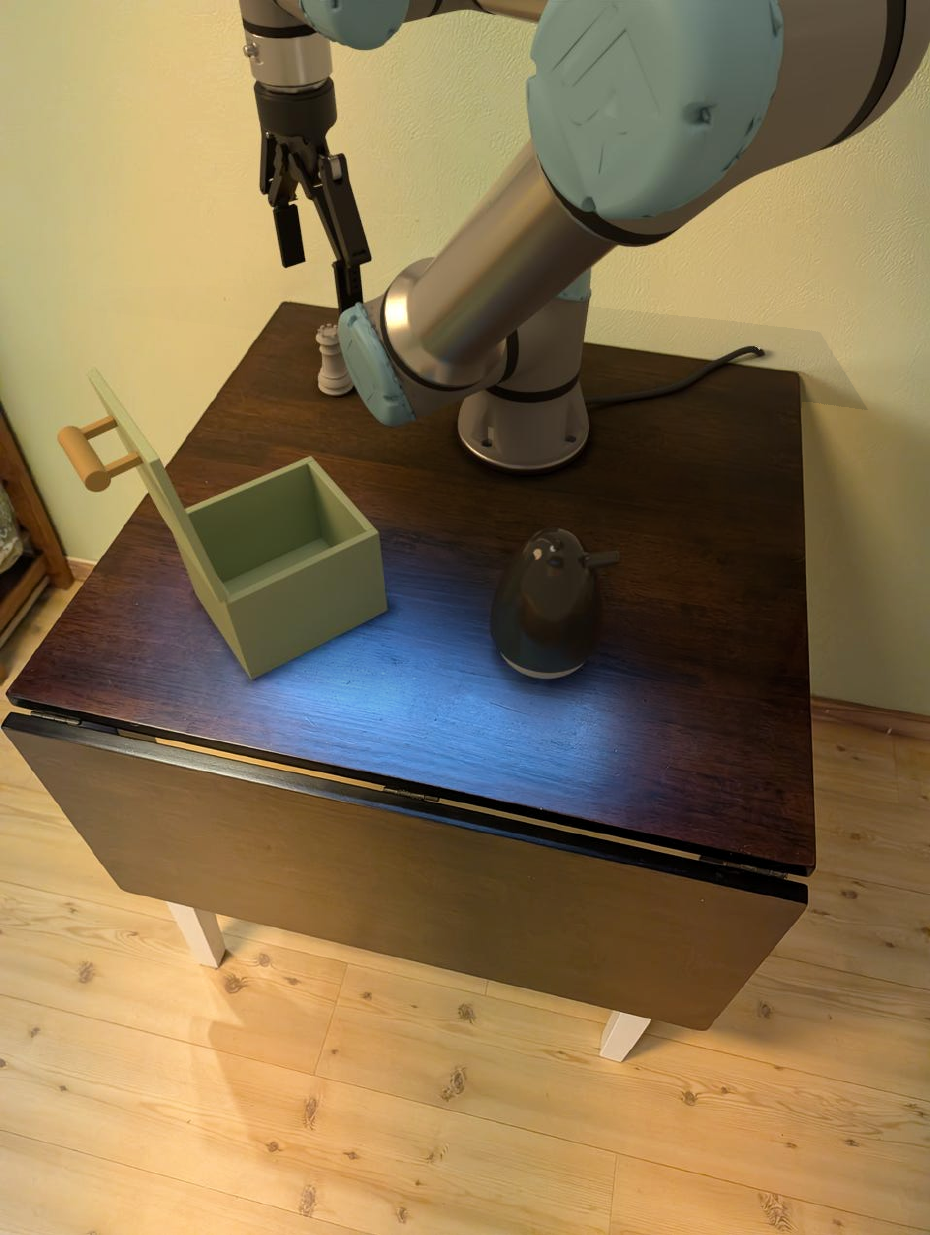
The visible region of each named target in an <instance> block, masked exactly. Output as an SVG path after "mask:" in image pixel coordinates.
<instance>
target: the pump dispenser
mask: <svg viewBox="0 0 930 1235" xmlns="http://www.w3.org/2000/svg"><path fill="white" fill-rule="evenodd" d="M621 560H622V559H621V553H620V552H619V551H618V550H612V551H593V552H592V551H591V552H590V550H589V549H588V547H587V546H586V544H585V542H584V541H583V540H581V538H580V537H579V536H578V535H577V534H575V533H574V532H572V531H571V530H569V529H567V528H564V527H557V526H550V527H544V528H541V529H539V530H537V531H536V532H534V533H532V534H531V535H530V536H529V537H527V538H526V539H525V540H524V541H523V542H522V543H521V545H519V547H518V548H517V549H516V551H515V552H514V554H513V555H512V557H511V558H510V560H509V561H508V563H507V564H506V566H505V567H504V569H503V572H502V574H501V576H500V579H499V581H498V583H497V586H496V590H495V593H494V596H493V601H492V605H491V608H490V615H489V631H490V636H491V639H492V642H493V644H494V646H495V647H496V649H497V650H498V651H499V654H500V655H501V656H502V658H503V659H504V660H505V661H506V663H507V664H508V665H510V666H511V668H513V669H515V671H517V672H519V673H521V674H523V675H525V676H526V677H527V676H528V677H531V678H534V679H541V680H553V679H557V678H562V677H566V676H568V675H570V674H572V673H573V672H575V671H577V670H578V669H580V668H581V667H582V666H583V665H584V664H586V662H587V661H588V660H590V659H591V658H592V657H593V656H594V654H595V653H596V652H597V650H598V649H599V646H600V644H601V641H602V638H603V633H604V626H605V625H604V624H605V603H604V594H603V587H602V582H601V578H600V575H599V572H598V569H602V568H606V567H610V566H614V565H615V566H616V565H619V564H620V562H621Z"/></svg>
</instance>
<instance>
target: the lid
mask: <svg viewBox="0 0 930 1235" xmlns="http://www.w3.org/2000/svg"><path fill="white" fill-rule="evenodd" d="M85 375H86V376H87V378H88V380H89V382H90V384H91V386H92V387H93V389H94V391H95V393H96V395H97V397H98V400H99V401H100V403H101V404H102V406H103V408H104V410H105V412H106V414H107V416H105V417H103V418H100V419H99V420H96V421H95V422H92V423H90V424H88V425H86V426H83V427H81V428H79V427H78V426H75V425H67V426H64V427H62V428H60V430H58V433H57V437H56V440H57V443H58V444H59V445H60V447H61V449H62V450H63V452H64V454H65V455H66V457H67V460H68V461H69V462H70V464H71V465H72V467H73V469H74V470H75V472H76V474H77V475H78V477H79V479H80V480H81V482H82V484H83V485H84V487H85V488H86V490H88V491H90V492H93V493H101V492H104V491H106V490H107V489H108V488H109V487H110V485H111V483H112V479H113V478H115V477H117V476H120V475H122V474H124V473H126V472H128V471H130V470H132V469H134V468H135V469H136V471H137V473H138V475H139V476H140V478H141V480H142V482H143V484H144V486H145V488H146V490H147V492H148V493H149V495H150V497H151V499H152V502H153V503H154V505H155V507H156V508H157V510H158V512H159V514H160V516H161V518H162V520H164V522H165V523H166V526H167V527H168V528H169V530H170V531H171V533H172V532H173V533H172V535H173V534H174V535H175V537H176V538H177V540H178V541H179V543H180V544H181V546H182V547H183V549H184V550H185V552H186V554H187V555H188V557H189V558H190V560H191V561H192V563H193V564H194V566H195V567H196V569H197V570H198V572H199V573H200V575H201V576H202V578H203V579H204V581H205V582H206V584H207V585H208V587H209V588H210V590H211V591H212V593H213V594H214V596H215V597H216V599H217V600H218V602H219V603H222V602H224V601H226V600H227V599H228V597H227V594H226V592H225V590H224V588H223V586H222V584H221V582H220V580H219V578H218V576H217V574H216V572H215V570H214V568H213V566H212V564H211V562H210V560H209V558H208V556H207V554H206V552H205V550H204V548H203V546H202V544H201V541H200V539H199V537H198V535H197V533H196V531H195V529H194V527H193V525H192V523H191V521H190V519H189V517H188V515H187V513H186V511H185V509H186V508H185V507H184V505H183V502H182V501H181V498H180V496H179V495H178V492H177V491H176V488H175V486H174V485H173V483H172V481H171V480H172V479H171V478H170V477H169V475H168V472H167V470H166V468H165V466H164V464H163V462H162V460H161V458H160V456H159V455H158V453H157V452H156V451H155V449H154V448H153V446H152V445H151V444H150V443H149V441H148V440H147V438H146V437H145V435H144V434H143V432H142V431H141V429H140V428H139V427H138V425H137V424H136V423H135V421H134V420H133V418H132V416H131V415H130V414H129V412H128V411H127V410H126V408H125V407H124V405H123V403H121V401H120V400H119V398H118V397H117V396H116V395H115V393H114V391H113V390H112V388H111V387H110V386H109V384H108V383H107V381H106V380H105V379H104V377H103V376H102V374H101V373H100V371H99V370H98V369H97V367H95V366H94V367H90V368H89V369H87V370H85ZM114 429H115V431H116V434H117V435H118V437H119V438H120V440H121V442H122V445H123V446H124V448H125V450H126V452H127V455H124V456H122V457H121V458H118V459H116V460H114V461H112V462H110V463H108V464H105V465H104V464H103V462H102V459H100V457H99V455H98V454H97V452H96V451H95V449H94V448H93V446H92V444H91V443H90V441H89V440H91V439H93V438H96V437H98V436H100V435H102V434H104V433H106V432H109V431H111V430H114ZM174 535H173V536H174Z"/></svg>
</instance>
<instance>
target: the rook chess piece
mask: <svg viewBox="0 0 930 1235" xmlns="http://www.w3.org/2000/svg"><path fill="white" fill-rule="evenodd" d="M332 326H333V327H332ZM315 340H316V342H317V343H318V344H319V345H320V346H319V348H318V350H319V352H320V353H321V368H320V370H319V372H318V375H317V381H318V383H317V384H318V385H317V387H318V388H319V390H320V391H321V393H323V394H325V395H326V396H329V397H341V396H344V395H346V394H348V393H349V392H350V391H351V390H352V389H353V387H355V385H354V383H353V381H352V379H351V376H350V374H349V372H348V369H347V366H346V364H345V361H344V358H343V354H342V350H341V347H340V342H339V336H338V324H334V325H332V323H326V327H325V325H324V324H322V325H320V326H319V328H317V334H316V335H315Z"/></svg>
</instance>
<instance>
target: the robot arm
mask: <svg viewBox="0 0 930 1235" xmlns="http://www.w3.org/2000/svg"><path fill="white" fill-rule="evenodd" d="M238 4H239V11H240V14H241V20H242V27H243V30H244V31H243V32H244V38H245V43H246V44H244V45H243V47H242V51H243V55H244V57H246V58H248V60H249V67H250V72H251V75H252V77H253V79H255V82H254V84H253V93H254V98H255V99H254V100H255V104H256V110H257V116H258V117H257V118H258V121H259V127H260V135H261V137H260V138H261V139H260V143H261V144H260V160H259V161H260V162H259V184H258V185H259V186H258V187H259V191H260V193H261V195H263V196H266V195H267V202H268V205H269V206H270V207H271V208H273V209H272V215H273V220H274V227H275V233H276V238H277V244H278V249H279V255H280V262H281V266H282V267H283V269H288V268H291V267H295V266H297V265H300V264H303V263H306V262H307V260H306V255H305V247H304V241H303V234H302V228H301V227H302V226H301V221H300V213H299V207H298V205H297V204H296V203H292V202H295V201H298V200H299V198H298V196H297V194H296V191H297V188H298V185H299V184H300V186H301V188H302V190H303V193H304V195H305V197H306V199H308V200H309V201H312V203H313V205H314V207H315V208H314V209H315V210H316V212H317V215H318V217H319V220H320V222H321V225H322V227H323V230H324V232H325V235H326V237H327V240H328V242H329V245H330V247H331V250H332V252H333V254H334V258H335V259H336V260H335V261H332V263H331V267H332V269H333V276H334V285H335V293H336V300H337V308H338V316H339V318H338V321H337V326H338V336H339V342H340V347H341V350H342V355H343V359H344V362H345V365H346V366H347V369H348V372H349V374H350V376H351V379H352V381H353V383H354V387H355V389H356V391H357V393H358V396H359V397H360V399H361V400H362V402H363V403H364V405H365V406H366V408H367V410H368V411H369V412H370V413H371V415H373V417H374V418H375V419H376V420H377V421H378V422H379V423H381V424H382V425H384V426H385V427H389V428H397V427H400V426H403V425H405V424H408V423H411V424H412V423H413V424H414V423H416V422H417V420H418V419H421V418H423V417H426V416H428V415H430V414H433V413H435V412H437V411H439V410H441V409H444V408H445V407H448V406H450V405H453V404H455V403H457V402H459V401H462V400H463V402H462V404H461V406H460V409H459V414H458V419H457V436H458V442H459V444H460V446H461V448H462V449H463V450H464V452H465V453H466V454H467V455H468V456H469V457H470V458H471V459H472V460H474V461H475V462H476V463H478V464H479V465H481V466H483V467H485V468H486V469H490V470H492V471H495V472H498V473H502V474H506V475H512V476H538V475H545V474H549V473H552V472H555V471H559V470H561V469H563V468H565V467H567V466H569V465H570V464H571V463H573V462H574V461H576V460H577V459H578V458H579V457H580V456H581V455H582V453H583V452H584V450H585V448H586V446H587V442H588V438H589V432H590V431H589V430H590V422H589V414H588V411H587V405H597V404H598V405H599V404H613V403H620V402H628V401H636V400H642V399H647V398H653V397H658V396H662V395H665V394H669V393H672V392H675V391H678V390H681V389H683V388H685V387H688V386H690V385H691V384H693V383H694V382H696V381H697V380H699V379H700V378H701V377H703V376H704V375H706V374H707V373H709V372H710V371H712V370H714V369H716V368H719V367H720V366H722V365H725V364H727V363H729V362H731V361H733V360H735V359H737V358H740V357H741V356H744V355H747V354H755V355H757V356H758V357H764V356H766V352H765V351H764V349H762V348H761V349H760V350H759V349H758V348H757V347H758V346H757V347H755V346H756V345H748V346H743V347H740V348H738V349H736V350H733V351H731V352H729V353H728V354H725V355H723V356H721V357H719V358H717V359H714V360H711V361H710V362H708V363H706V364H705V365H703V366H701V367H700V368H699V369H698V370H696V371H695V372H692V374H690V375H688V376H687V377H685V378H683V379H681V380H679V381H676V382H674V383H670V384H667V385H664V386H661V387H656V388H652V389H648V390H647V389H646V390H640V391H634V392H633V391H632V392H626V393H619V394H612V395H595V396H585V397H584V395H583V391H582V387H581V382H580V373H581V364H582V358H583V351H584V343H585V337H586V328H587V322H588V314H589V306H590V300H591V297H592V288H591V281H592V280H591V279H592V268H593V267H594V266H595V265H597V263H599V262H600V261H601V260H603V259H604V257H606V256H607V255H608V254H610V253H611V252H612V251H614V249H615V248H617V247H618V246H621V247H625V248H641V247H648V246H651V245H655V244H658V243H659V242H662V241H663V240H666V239H667V238H669V237H670V236H672V235H673V234H674V233H676V232H677V231H679V230H680V229H681V228H682V227H684V226H685V225H686V224H687V223H689V222H690V221H692V220H693V219H695V218H696V217H697V216H698V215H700V214H701V213H702V212H704V211H705V210H707V209H708V208H709V207H711V206H712V205H713V204H714V203H716V202H717V201H719V199H721V198H722V197H723V196H725V195H727V193H729V192H730V191H731V190H733V189H735V188H737V187H738V186H740V185H741V184H743V183H745V182H747V181H749V180H750V179H752V178H754V177H756V176H758V175H760V174H762V173H765V172H768V171H771V170H773V169H776V168H778V167H781V166H784V165H785V164H789V163H792V162H795V161H797V160H800V159H802V158H805V157H808V156H810V155H812V154H815V153H818V152H820V151H824V150H826V149H829V148H832V147H835V146H838V145H840V144H842V143H843V142H845V141H848V140H849V139H850V138H852V137H854V136H856V135H857V134H859V133H862V132H863V131H864V130H865V129H867V128H869V126H871V125H872V124H874V123H875V122H876V121H877V120H879V119H880V118H881V117H882V116H883V115H884V114H885V113H886V112H887V111H888V110H889V109H890V108H891V107H892V106H893V105H894V104H895V103H896V101H897V100H899V98H900V97H901V95H902V94H903V93H904V92H905V90H906V89H907V87H908V86H909V85H910V84H911V82H912V80H913V78H914V77H915V75H916V73H917V71H918V70H919V69H920V67H921V64H922V63H923V60H924V58H925V56H926V53H927V51H928V49H929V47H930V0H238ZM458 11H459V12H460V11H473V12H479V13H482V14H483V13H484V14H488V15H492V16H499V17H504V18H508V19H512V20H516V21H521V22H526V23H529V24H530V23H531V24H534V25H537V26H536V29H535V32H534V36H533V38H532V43H531V47H530V53H529V58H530V60H532V61H533V62H534V65H535V68H536V69H535V74H533V75H532V76H529V77H527V79H526V82H525V87H526V88H525V96H526V97H525V98H526V100H525V101H526V102H525V103H526V113H527V120H528V128H529V135H530V138H529V139H528V140H527V142H526V143H525V144H524V145H523V146H522V148H520V149H519V150H520V151H519V152H518V153H517V154H516V155H515V156H514V158H512V160H511V162H510V163H509V164H508V165H507V167H505V169H504V170H503V171H502V172H501V174H500V175H499V176H498V178H497V179H496V180H495V182H494V183H493V184H492V185H491V186H490V188H489V189H488V190H487V192H486V193H485V194H484V195H483V196H482V198H481V199H480V200H479V201H478V203H476V205H475V206H474V208H473V209H472V210H471V212H470V213H469V214H468V215H467V217H465V219H464V220H463V222H461V224H460V225H459V227H458V228H457V229H456V230H455V231H454V232H453V234H452V235H451V236H450V238H449V239H448V240H447V241H446V243H444V245H443V246H442V247H441V249H440V250H439V251H438V253H437V254H436V255H435V256H430V257H429V256H428V257H425V258H420V259H419V260H416V261H414V262H412V263H411V264H409V265H407V266H406V267H405V268H404V269H402V270H401V271H400V272H399V273H398V274H397V275H396V276H395V278H394V279H393V280H392V282H391V283H390V284H389V286H387V288H386V290H385V292H383V294H381V295H379V296H377V297H375V298H373V299H370V300H367V301H364V295H363V294H364V292H363V284H362V272H361V265H364V264H367V263H368V264H369V263H370V262H372V261H373V260H372V259H373V258H372V254H371V253H372V252H371V249H370V246H369V243H368V239H367V235H366V232H365V229H364V225H363V222H362V218H361V215H360V212H359V208H358V205H357V201H356V198H355V195H354V194H355V193H354V191H353V187H352V184H351V181H350V174H349V166H348V161H347V158H346V154H344V152H340V153H336V154H332V153H331V151H330V148H329V145H328V141H327V137H326V136H327V134H328V132H329V131H330V130H331V128H333V127H334V126H335V124H336V122H337V121H338V109H337V108H338V106H337V100H336V89H335V82H334V80H333V78H332V77H331V74H333V72H334V69H333V68H334V67H333V66H334V65H333V58H332V47H331V42H332V43H338V44H339V45H341V46H344V47H349V48H351V49H352V50H357V51H372V50H373V51H374V50H375V49H379V48H381V47H383V46H384V45H386V43H387V42H388V41H389V40H391V38H392V37H393V36H394V35H395V34H396V33H398V32H399V31H400V28H401V27H402V25H403V24H406V23H411V22H416V21H419V20H424V19H426V18H431V17H434V16H439V15H442V14H448V13H453V12H458ZM290 203H291V204H290Z"/></svg>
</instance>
